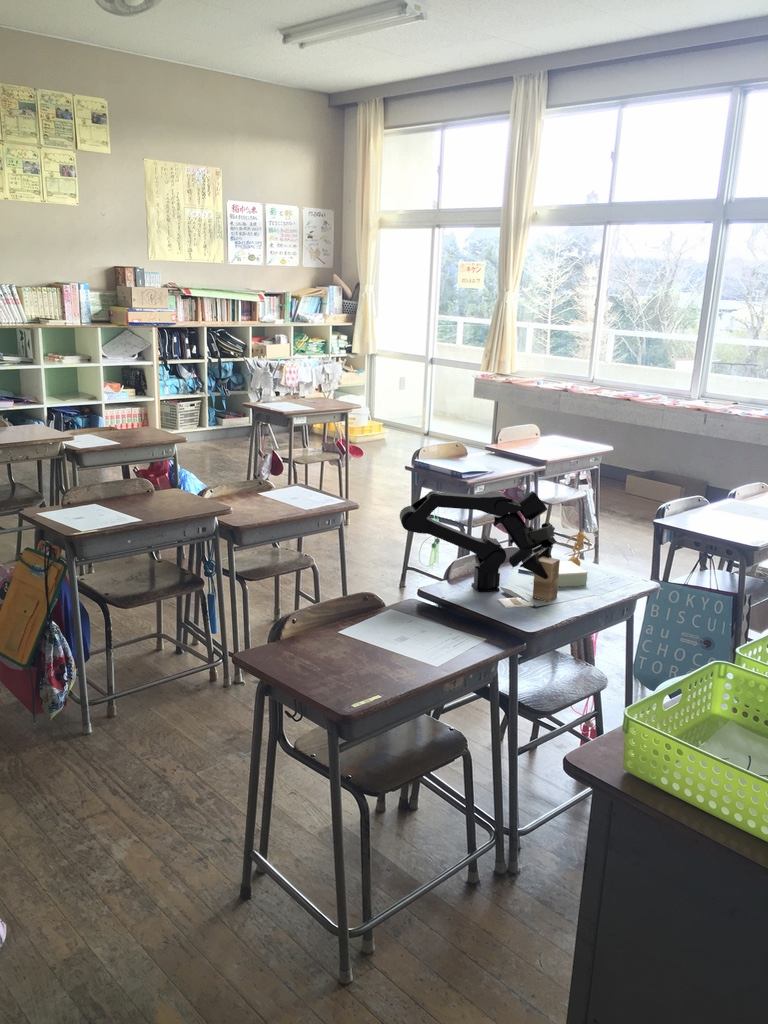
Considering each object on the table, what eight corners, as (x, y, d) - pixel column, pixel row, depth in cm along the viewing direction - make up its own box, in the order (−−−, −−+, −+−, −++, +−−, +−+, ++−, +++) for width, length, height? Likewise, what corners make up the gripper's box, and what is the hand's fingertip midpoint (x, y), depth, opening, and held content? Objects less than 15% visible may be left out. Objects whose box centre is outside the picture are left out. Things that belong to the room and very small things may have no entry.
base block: (551, 587, 237) (552, 574, 236) (536, 575, 247) (537, 562, 246) (586, 585, 239) (587, 572, 238) (569, 573, 250) (570, 560, 249)
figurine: (558, 567, 255) (561, 530, 252) (569, 563, 259) (572, 527, 256) (581, 574, 249) (584, 536, 246) (592, 570, 253) (595, 533, 250)
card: (505, 607, 220) (505, 606, 220) (497, 600, 225) (498, 598, 225) (533, 606, 222) (533, 604, 221) (524, 598, 227) (524, 596, 227)
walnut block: (549, 601, 225) (551, 563, 222) (532, 597, 228) (535, 560, 225) (556, 596, 229) (559, 559, 226) (540, 592, 232) (543, 556, 229)
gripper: (521, 521, 218) (556, 568, 214) (552, 508, 232) (585, 552, 229) (494, 543, 224) (528, 590, 221) (525, 530, 239) (557, 573, 235)
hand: (551, 575), depth 226 cm, fingers closed on walnut block, 5 cm apart
